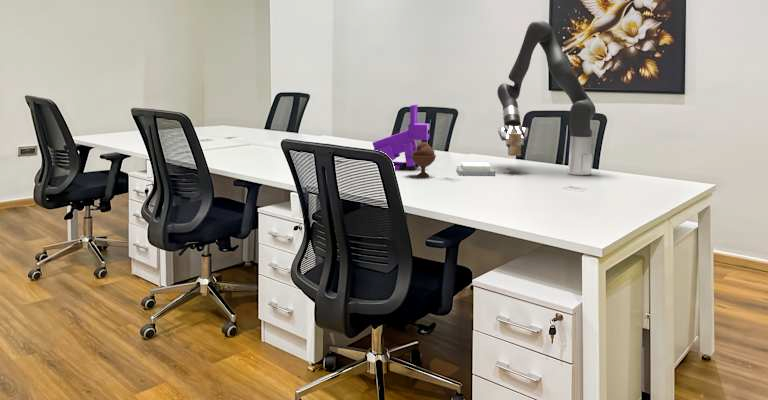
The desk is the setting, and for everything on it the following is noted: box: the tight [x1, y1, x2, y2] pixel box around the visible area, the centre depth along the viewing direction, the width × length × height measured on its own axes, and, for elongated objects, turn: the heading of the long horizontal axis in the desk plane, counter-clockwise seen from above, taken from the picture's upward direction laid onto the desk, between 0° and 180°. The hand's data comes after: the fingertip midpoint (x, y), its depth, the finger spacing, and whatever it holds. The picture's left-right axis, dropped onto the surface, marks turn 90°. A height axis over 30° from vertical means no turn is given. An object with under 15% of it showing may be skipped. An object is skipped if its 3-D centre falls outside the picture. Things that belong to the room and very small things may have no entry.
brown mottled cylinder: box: [507, 132, 522, 157], centre depth 290 cm, size 5×5×10 cm
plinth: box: [456, 161, 496, 177], centre depth 292 cm, size 16×16×4 cm
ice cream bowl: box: [411, 141, 437, 178], centre depth 281 cm, size 11×11×15 cm
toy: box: [372, 104, 431, 171], centre depth 303 cm, size 14×28×30 cm, turn 77°
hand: (515, 146), depth 288 cm, fingers closed on brown mottled cylinder, 5 cm apart
